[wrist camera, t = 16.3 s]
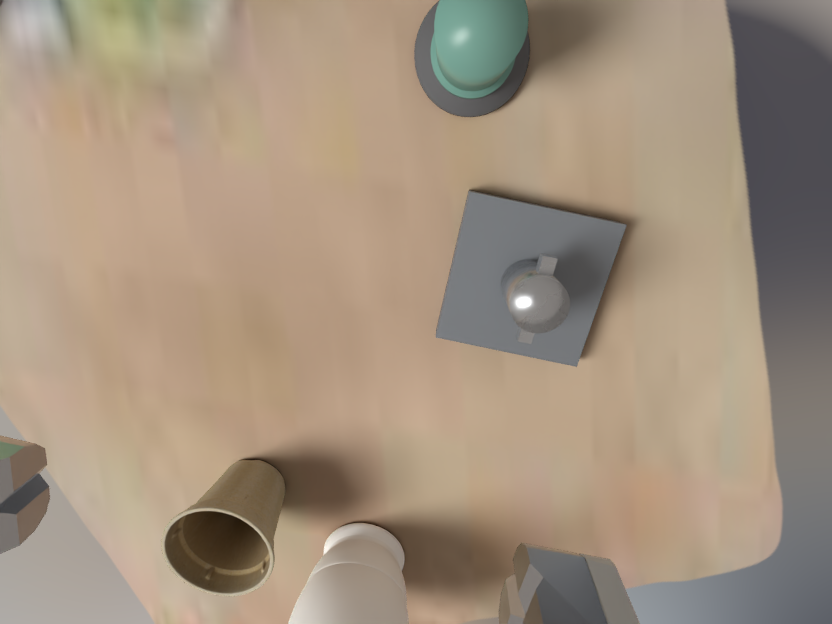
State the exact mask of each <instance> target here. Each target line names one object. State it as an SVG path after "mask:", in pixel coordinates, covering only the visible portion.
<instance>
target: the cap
mask: <svg viewBox="0 0 832 624" xmlns="http://www.w3.org/2000/svg"><path fill="white" fill-rule="evenodd" d="M527 29H528V10H527V5H526V2H525V0H440V1H439V4H438V6H437V10H436V14H435V21H434V31H435V32H434V34H433V38H432V42H431V63H432V67H433V71H434V73H435V76H436V78H437V80H438V81H439V83H440V84H441V85H442V86H443V88H444V89H446V90H447V91H448V92H449V93H451V94H452V95H454V96H457V97H459V98H463V99H479V98H482V97H485V96H487V95H489V94H491V93H493V92H494V91H495V90H497V89H498V88H499V87H500V86H501V85H502V84H503V83H504V81H505V80H506V79H507V77H508V76H509V74H510V72H511V70H512V68H513V65H514V62H515V58H516V56H517V54H518V53H519V51H520V49H521V48H522V46H523V43H524V41H525V38H526V34H527Z"/></svg>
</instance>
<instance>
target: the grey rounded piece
mask: <svg viewBox="0 0 832 624" xmlns="http://www.w3.org/2000/svg"><path fill="white" fill-rule="evenodd" d="M557 260H558V259H557V258H556V257H555V256H553V255H549V254H544V253H540V256H539V259H538V261H536V260H532V259H524V260H520V261H517V262H515V263H513V264H512V265H510V266H509V267H508V268H507V269H506V271H505V272H504V274H503V276H502V279H501V291H502V294H503V296H504V299H505V301H506V304H507V306H508V309H509V311H510V313H511V316H512V318H513V320H514V322H515V323H516V324H517V325H518V326H519V327H518V330H517V333H516V338H517V341H518V342H523V343H528V344H532V340H533V337H534V334H535V333H546V332H549V331H551V330H554V329H555V328H557V327H558V326H559V325H561V324H562V323H563V321H564V320H565V319H566V317H567V315H568V313H569V309H570V298H569V295H568V292H567V290H566V289H565V288H564V286H563V285H562V284H561V283H560V282H559V281H558V280H557V279H556V277H555V276H554V275H553V273H554V270H555V266H556V263H557Z"/></svg>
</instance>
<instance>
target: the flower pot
mask: <svg viewBox="0 0 832 624" xmlns="http://www.w3.org/2000/svg"><path fill="white" fill-rule="evenodd" d="M284 496H285V484H284V479H283V477H282V475H281V474H280V473H279V471H278V470H277V469H275V468H274V467H273V466H272V465H270V464H268V463H266V462H264V461H261V460H241V461H238V462H236V463H234V464H233V465H231V466H230V467H229V468H228V469H227V471H226V472H225V473H224V474H223V475H222V476H221V477H220V478H219V479H218V481H217V482H216V483H215V484H214V485H213V486H212V487H211V488H210V489H209V490H208V491H207V492H206V493H205V494H204V495H203V496H202V497H201V499H200V500H199V501H198V502H197V503H196V504H194V505H192V506H191V507H189V508H188V509H187V510H185V511H183V512H181V513H179V514H178V515H177V516H175V517H174V518H173V519H172V520H171V521H170V522H169V523H168V525H167V526H166V528H165V530H164V532H163V535H162V539H161V549H162V554H163V557H164V559H165V561H166V563H167V565H168V566H169V568H170V569H171V570H172V572H173V573H174V574H175V575H176V576H177V577H178V578H180V579H181V580H182V581H183V582H185V583H186V584H188V585H190V586H191V587H193V588H195V589H198V590H200V591H202V592H205V593H208V594H213V595H218V596H239V595H244V594H247V593H250V592H252V591H254V590H256V589H258V588H260V587H261V586H262V585H263V584H264V583H265V582H266V581H267V579H268V578H269V577H270V575H271V573H272V570H273V567H274V560H275V557H274V550H273V549H274V540H273V539H274V535H275V531H276V527H277V523H278V519H279V515H280V511H281V507H282V503H283V500H284Z"/></svg>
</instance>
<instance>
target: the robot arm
mask: <svg viewBox="0 0 832 624" xmlns="http://www.w3.org/2000/svg"><path fill="white" fill-rule="evenodd" d="M46 466H47V459H46V452H45V448H43V447H41V446H39V445H37V444H35V443H30V442H26V441H22V440H17V439H13V438H8V437H4V436H0V554H1V553H3V552H6V551H8V550H10V549H12V548H15V547H17V546H19V545H20V544H22V542H24V541H25V540H26V539H27V538H28V537H29V536H30V535H31V534H32V533H33V532H34V531H35V530H36V528H37V527H38V525H39V523H40V522H41V520H42V518H43V517H44V515H45V514H46V511H47V507H48V503H49V500H50V495H49V494H50V493H49V486H48V484H47V483H46V482H45V480H44V479H43V478H42V477H41V475H40V474H39V473H40V472H41V471H42V470H43V469H44V468H45V467H46ZM513 564H514V570H515V573H514V574H513V575H511V576H510V577H508V578H507V579H506V580H505V583H504V586H503V590H502V593H501V599H500V606H499V624H640V623H639V621H638V618H637V616H636V614H635V611H634V609H633V606H632V604H631V602H630V599H629V597H628V595H627V592H626V590H625V587H624V585H623V583H622V580H621V578H620V576H619V573H618V571H617V568H616V566H615V564H614V563H613V562H612V561H611V560H610V559H606V558H601V557H596V556H590V555H585V554H577V553H573V552H568V551H563V550H558V549H552V548H547V547H542V546H537V545H532V544H527V543H521V544H520V545H519V546H518V548H517V550H516V552H515V555H514V558H513Z"/></svg>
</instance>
